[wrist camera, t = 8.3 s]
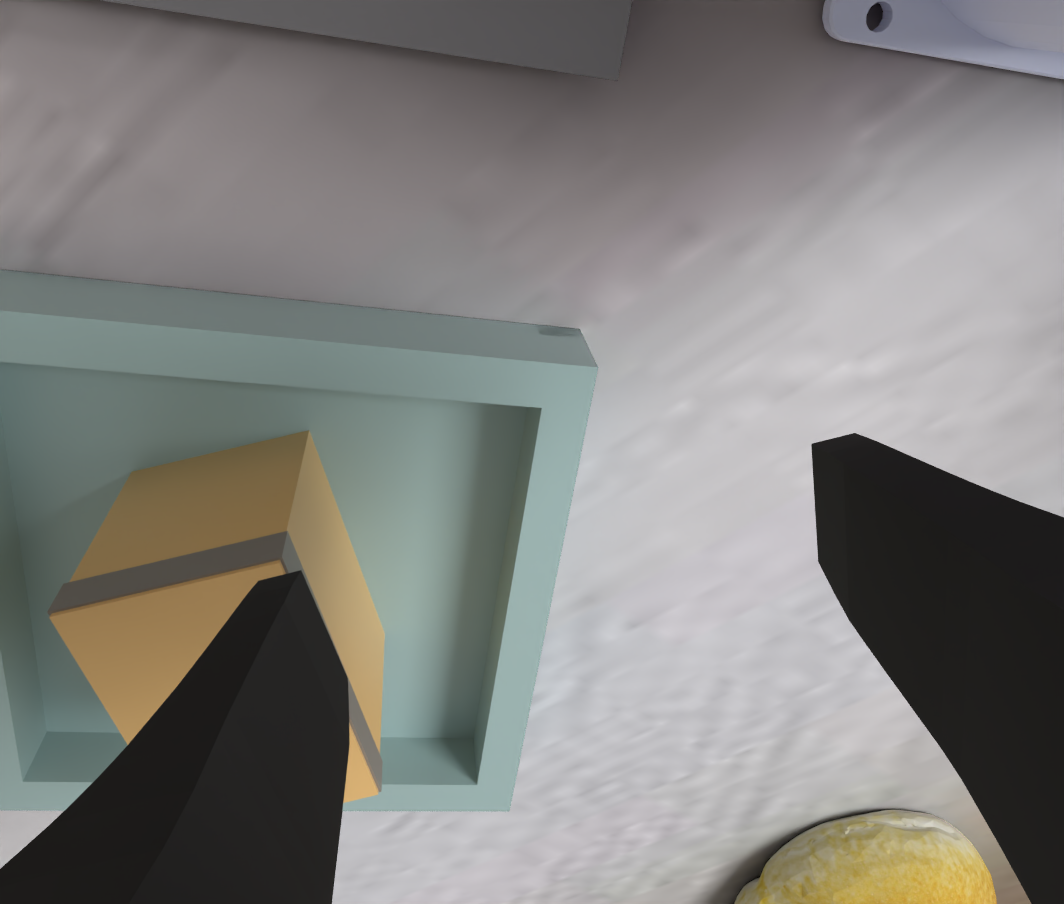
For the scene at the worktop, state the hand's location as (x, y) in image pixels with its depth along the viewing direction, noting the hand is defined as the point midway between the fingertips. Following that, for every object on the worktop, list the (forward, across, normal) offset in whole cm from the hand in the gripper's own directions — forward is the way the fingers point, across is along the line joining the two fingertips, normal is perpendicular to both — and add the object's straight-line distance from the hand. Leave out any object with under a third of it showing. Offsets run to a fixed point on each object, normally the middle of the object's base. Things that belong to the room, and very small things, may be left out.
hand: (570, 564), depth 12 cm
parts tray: (+8, +7, +4) cm, 11 cm away
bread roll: (+9, -7, +23) cm, 26 cm away
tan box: (+8, +7, +4) cm, 11 cm away
